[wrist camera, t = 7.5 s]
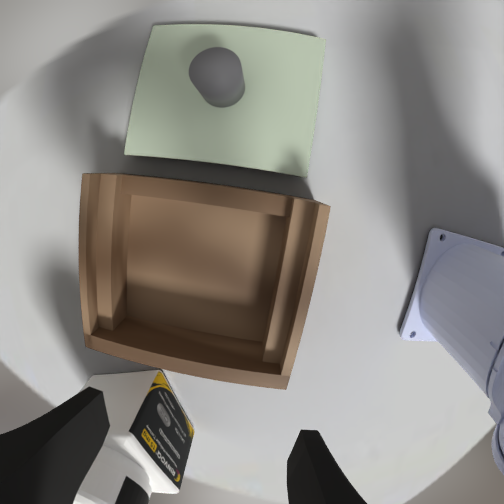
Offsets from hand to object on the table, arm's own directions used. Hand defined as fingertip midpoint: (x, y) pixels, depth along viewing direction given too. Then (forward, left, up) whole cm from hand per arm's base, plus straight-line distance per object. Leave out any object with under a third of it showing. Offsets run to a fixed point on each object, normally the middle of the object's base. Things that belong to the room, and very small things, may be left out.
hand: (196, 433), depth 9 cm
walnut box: (+2, -3, -10) cm, 11 cm away
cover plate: (+2, -13, -10) cm, 17 cm away
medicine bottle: (+6, +10, -10) cm, 15 cm away
